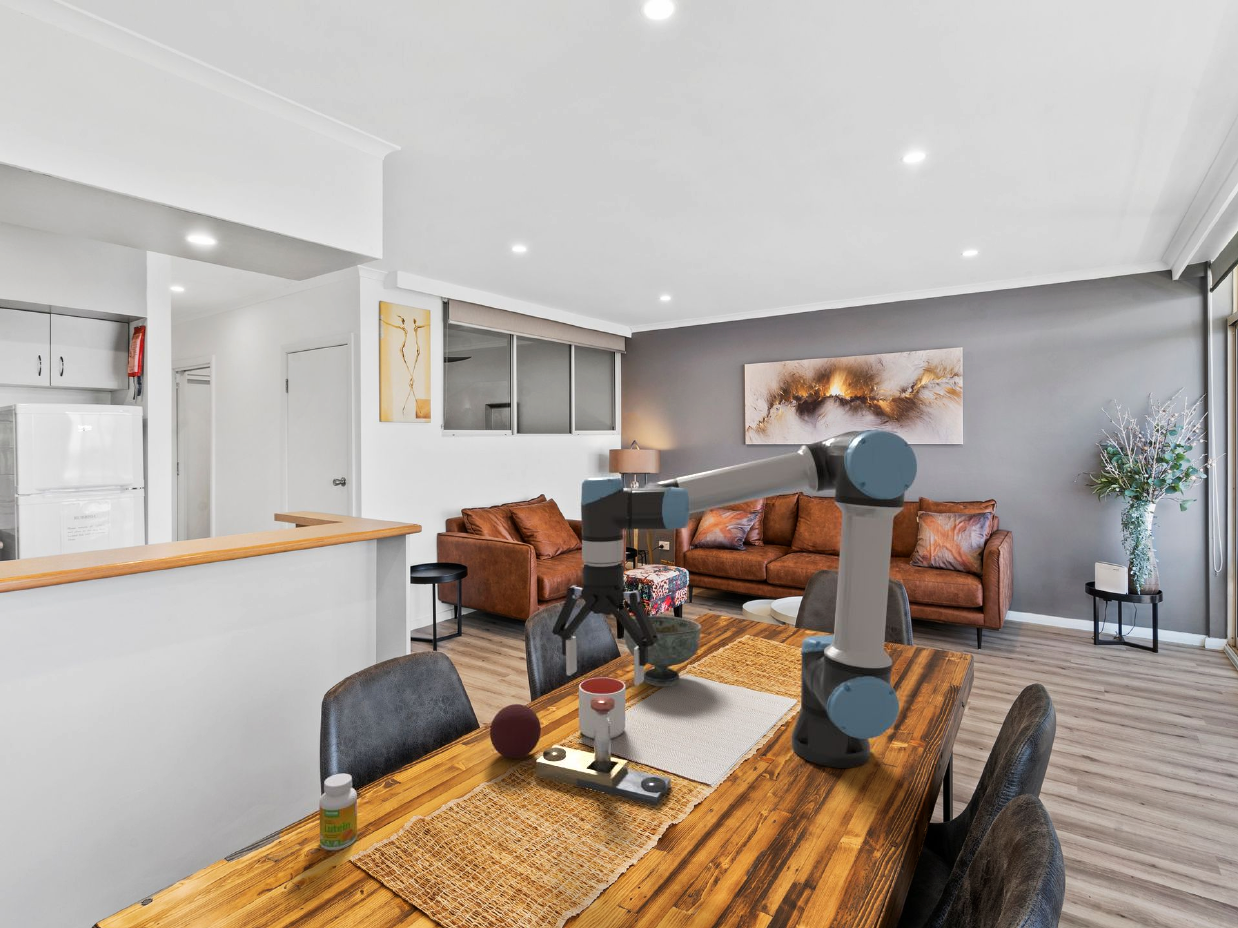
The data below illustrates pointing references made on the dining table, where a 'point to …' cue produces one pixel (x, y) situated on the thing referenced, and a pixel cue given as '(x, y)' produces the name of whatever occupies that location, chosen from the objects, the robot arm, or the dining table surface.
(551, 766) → the chain ends
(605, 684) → the cup
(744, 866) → the dining table surface
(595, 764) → the pin
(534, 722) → the decorative ball
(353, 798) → the supplement bottle
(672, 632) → the bowl
